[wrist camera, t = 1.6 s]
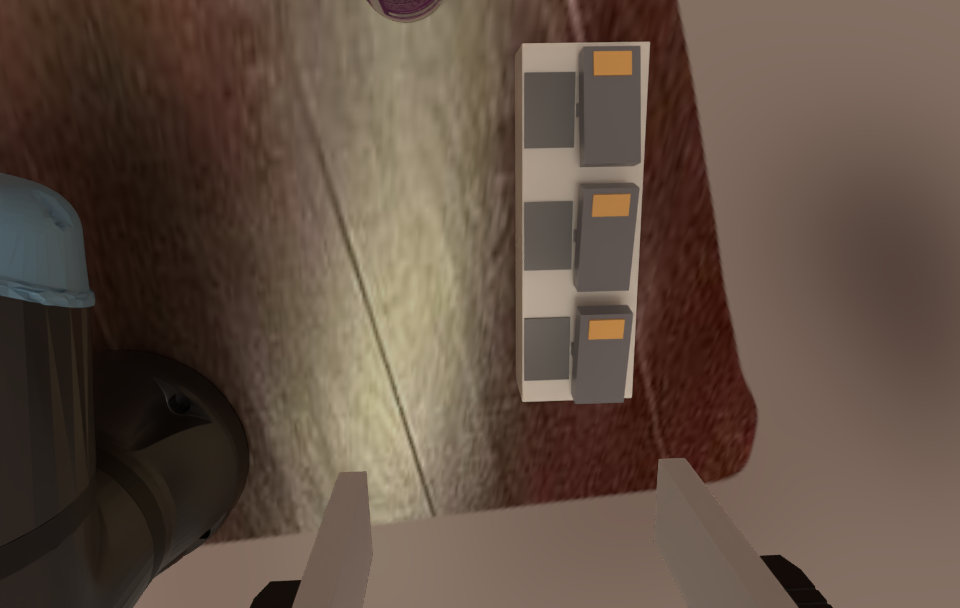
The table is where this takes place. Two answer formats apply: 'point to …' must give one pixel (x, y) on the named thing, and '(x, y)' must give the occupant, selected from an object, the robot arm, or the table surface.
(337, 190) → the table surface
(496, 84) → the table surface
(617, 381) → the block
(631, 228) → the rocker
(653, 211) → the table surface
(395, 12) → the pill bottle
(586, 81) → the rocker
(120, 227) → the table surface
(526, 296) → the power strip
